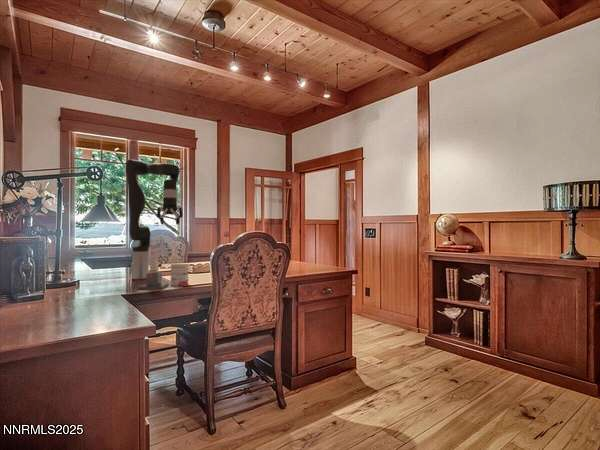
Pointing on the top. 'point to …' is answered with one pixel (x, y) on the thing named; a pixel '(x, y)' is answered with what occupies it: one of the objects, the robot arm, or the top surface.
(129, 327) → the top surface
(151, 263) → the column
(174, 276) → the ink box
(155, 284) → the jack base
